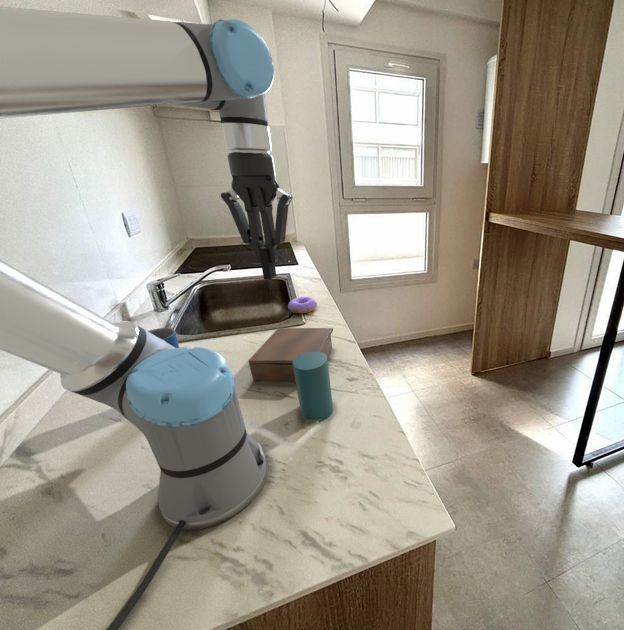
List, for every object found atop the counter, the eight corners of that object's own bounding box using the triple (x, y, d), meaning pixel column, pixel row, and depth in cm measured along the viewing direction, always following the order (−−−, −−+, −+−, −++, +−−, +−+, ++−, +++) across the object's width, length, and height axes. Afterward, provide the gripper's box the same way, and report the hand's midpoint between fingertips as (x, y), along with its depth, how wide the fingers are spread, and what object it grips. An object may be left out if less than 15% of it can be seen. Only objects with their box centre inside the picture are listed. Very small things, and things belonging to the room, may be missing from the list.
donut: (312, 301, 126) (312, 290, 123) (321, 314, 120) (320, 303, 117) (285, 306, 121) (284, 295, 118) (292, 320, 115) (291, 309, 112)
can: (318, 426, 67) (310, 373, 62) (294, 416, 70) (285, 364, 64) (339, 407, 72) (334, 356, 67) (316, 398, 75) (309, 348, 70)
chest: (332, 350, 94) (330, 332, 92) (313, 385, 79) (311, 365, 77) (281, 348, 94) (278, 330, 92) (253, 384, 79) (248, 363, 77)
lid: (333, 330, 91) (332, 327, 91) (314, 363, 76) (313, 360, 76) (278, 330, 92) (278, 328, 92) (248, 363, 77) (248, 360, 77)
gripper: (293, 154, 63) (307, 273, 73) (225, 152, 63) (248, 271, 73) (277, 152, 56) (294, 284, 66) (201, 150, 56) (229, 282, 66)
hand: (270, 277), depth 69 cm, fingers closed
